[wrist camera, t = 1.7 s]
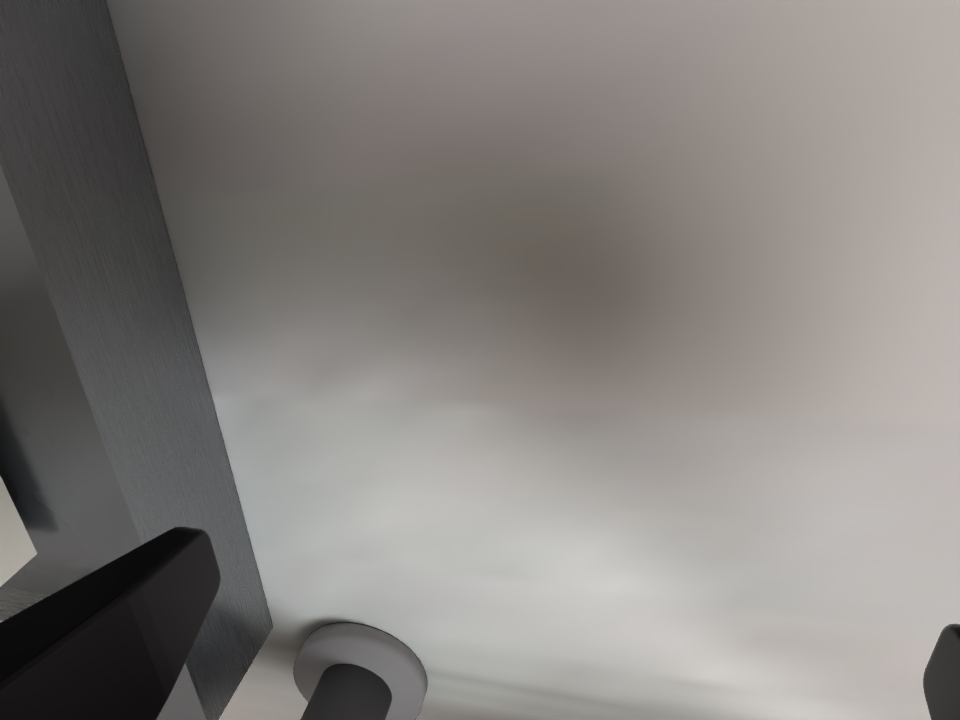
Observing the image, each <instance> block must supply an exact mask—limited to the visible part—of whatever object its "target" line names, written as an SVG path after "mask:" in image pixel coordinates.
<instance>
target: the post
mask: <svg viewBox="0 0 960 720" xmlns="http://www.w3.org/2000/svg"><path fill="white" fill-rule="evenodd" d="M293 675H294V680H295V683H296V685H297V687H298V689H299V691H300V692H301V694H302V695H303V697H304V698H305V699H306V700H307V701H308V702H309V703H308V705H307V708H306V710H305V712H304V714H303V716H302V718H301V720H416V718H417V717H418V715H419V713H420V710H421V707H422V703H423V700H424V697H425V693H426V690H427V676H426V672H425V670H424V667H423V666H422V664H421V662H420V661H419V659H418V658H417V657H416V655H415V654H414V653H413V652H412V651H411V650H410V649H409V648H408V647H406V646H405V645H404V644H403V643H401V642H400V641H399V640H397V639H395V638H394V637H392V636H390V635H388V634H386V633H384V632H382V631H380V630H377V629H375V628H372V627H368V626H365V625H359V624H352V623H336V624H330V625H326V626H323V627H321V628H318V629H317V630H315V631H314V632H313V633H311V634H310V635H309V637H308V638H307V639H306V641H305V643H304V645H303V647H302V649H301V651H300V653H299V655H298V657H297V659H296V661H295V663H294V667H293Z"/></svg>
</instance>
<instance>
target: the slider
mask: <svg viewBox="0 0 960 720" xmlns="http://www.w3.org/2000/svg"><path fill="white" fill-rule="evenodd" d="M36 554H37V552H36V550H35V547H34V545H33V543H32V541H31V539H30V537H29V535H28V533H27V531H26V528H25V526H24V524H23V522H22V520H21V518H20V516H19V514H18V512H17V509H16V507H15V505H14V503H13V501H12V499H11V497H10V495H9V493H8V490H7V488H6V486H5V484H4V482H3V480H2V478H1V476H0V587H1V586H2V585H3V584H4V583H5V582H6V581H7V580H9V579H10V578H11V577H12V576H13V575H14V574H15V573H16V572H17V571H19V570H20V569H21V568H22V567H23V566H24V565H25V564H26V563H28V562H29V561H30V560H31V559H32V558H33V557H34V556H35V555H36Z"/></svg>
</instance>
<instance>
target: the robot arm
mask: <svg viewBox="0 0 960 720" xmlns="http://www.w3.org/2000/svg"><path fill="white" fill-rule="evenodd" d="M220 581H221V573H220V568H219V565H218V562H217V558H216V555H215V552H214V548H213V545H212V542H211V538H210V536H209V534H208V533H207V532H206V531H205V530H203V529H198V528H190V527H182V526H181V527H175V528H172V529H170V530H168V531H166V532H164V533H163V534H161V535H159V536H157V537H155V538H154V539H152V540H150V541H148V542H146V543H144V544H143V545H141V546H139V547H137V548H135V549H133V550H132V551H130V552H128V553H126V554H124V555H122V556H121V557H119V558H117V559H115V560H113V561H112V562H110V563H108V564H106V565H104V566H102V567H101V568H99V569H97V570H95V571H93V572H91V573H90V574H88V575H86V576H84V577H82V578H80V579H79V580H77V581H75V582H73V583H71V584H69V585H68V586H66V587H64V588H62V589H60V590H59V591H57V592H55V593H53V594H51V595H49V596H48V597H46V598H44V599H42V600H40V601H38V602H37V603H35V604H33V605H31V606H29V607H27V608H26V609H24V610H22V611H20V612H18V613H16V614H15V615H13V616H11V617H9V618H7V619H5V620H4V621H2V622H0V720H156V719H157V718H158V716H159V714H160V712H161V710H162V709H163V707H164V705H165V703H166V701H167V700H168V698H169V696H170V694H171V692H172V690H173V688H174V686H175V683H176V681H177V679H178V677H179V675H180V673H181V671H182V669H183V666H184V664H185V662H186V660H187V658H188V656H189V653H190V651H191V649H192V647H193V645H194V643H195V640H196V638H197V636H198V634H199V632H200V629H201V627H202V625H203V623H204V621H205V619H206V616H207V614H208V612H209V610H210V608H211V606H212V603H213V601H214V599H215V597H216V595H217V592H218V590H219V586H220ZM923 686H924V693H925V698H926V701H927V705H928V709H929V713H930V716H931V720H960V624H950V625H948V626H946V627H945V628H944V629H943V630H942V632H941V634H940V637H939V639H938V641H937V643H936V646H935V648H934V650H933V653H932V655H931V657H930V660H929V662H928V664H927V667H926V669H925V672H924V678H923Z"/></svg>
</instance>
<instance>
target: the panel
mask: <svg viewBox="0 0 960 720" xmlns="http://www.w3.org/2000/svg"><path fill="white" fill-rule="evenodd" d="M0 476H1V478H2V480H3V482H4V484H5V486H6V488H7V490H8V493H9V495H10V497H11V499H12V501H13V503H14V505H15V507H16V509H17V512H18V514H19V516H20V518H21V520H22V522H23V524H24V526H25V528H26V531H27V533H28V535H29V537H30V539H31V541H32V543H33V545H34V547H35V550H36V552H37V554H36V555H35V556H34V557H33V558H32V559H31V560H30V561H29V562H28V563H26V564H25V565H24V566H23V567H22V568H21V569H20V570H19V571H17V572H16V573H15V574H14V575H13V576H12V577H11V578H10V579H9V580H7V581H6V582H5V583H4V584H3V585H2V586H1V587H0V622H2V621H4V620H5V619H7V618H9V617H11V616H13V615H15V614H16V613H18V612H20V611H22V610H24V609H26V608H27V607H29V606H31V605H33V604H35V603H37V602H38V601H40V600H42V599H44V598H46V597H48V596H49V595H51V594H53V593H55V592H57V591H59V590H60V589H62V588H64V587H66V586H68V585H69V584H71V583H73V582H75V581H77V580H79V579H80V578H82V577H84V576H86V575H88V574H90V573H91V572H93V571H95V570H97V569H99V568H101V567H102V566H104V565H106V564H108V563H110V562H112V561H113V560H115V559H117V558H119V557H121V556H122V555H124V554H126V553H128V552H130V551H132V550H133V549H135V548H137V547H139V546H141V545H143V544H144V543H146V542H148V541H150V540H152V539H154V538H155V537H157V536H159V535H161V534H163V533H164V532H166V531H168V530H170V529H172V528H175V527H181V526H182V527H190V528H198V529H203V530H205V531H206V532H207V533H208V534H209V536H210V538H211V542H212V545H213V548H214V552H215V555H216V558H217V562H218V565H219V568H220V573H221V581H220V586H219V590H218V592H217V595H216V597H215V599H214V601H213V603H212V606H211V608H210V610H209V612H208V614H207V616H206V619H205V621H204V623H203V625H202V627H201V629H200V632H199V634H198V636H197V638H196V640H195V643H194V645H193V647H192V649H191V651H190V653H189V656H188V658H187V660H186V662H185V664H184V666H183V669H182V671H181V673H180V675H179V677H178V679H177V681H176V683H175V686H174V688H173V690H172V692H171V694H170V696H169V698H168V700H167V701H166V703H165V705H164V707H163V709H162V710H161V712H160V714H159V716H158V718H157V719H156V720H219V718H220V716H221V714H222V713H223V711H224V709H225V708H226V706H227V704H228V703H229V701H230V699H231V697H232V696H233V694H234V692H235V691H236V689H237V687H238V686H239V684H240V682H241V680H242V679H243V677H244V675H245V674H246V672H247V670H248V668H249V667H250V665H251V663H252V662H253V660H254V658H255V657H256V655H257V653H258V651H259V650H260V648H261V646H262V645H263V643H264V641H265V640H266V638H267V636H268V634H269V633H270V631H271V629H272V628H273V626H272V622H271V618H270V614H269V611H268V607H267V603H266V599H265V596H264V592H263V588H262V584H261V581H260V577H259V573H258V569H257V566H256V562H255V558H254V554H253V551H252V547H251V543H250V540H249V536H248V532H247V528H246V525H245V521H244V517H243V513H242V510H241V506H240V502H239V498H238V495H237V491H236V487H235V483H234V480H233V476H232V472H231V468H230V465H229V461H228V457H227V453H226V450H225V446H224V442H223V439H222V435H221V431H220V427H219V424H218V420H217V416H216V412H215V409H214V405H213V401H212V397H211V394H210V390H209V386H208V382H207V379H206V375H205V371H204V367H203V364H202V360H201V356H200V352H199V349H198V345H197V341H196V338H195V334H194V330H193V326H192V323H191V319H190V315H189V311H188V308H187V304H186V300H185V296H184V293H183V289H182V285H181V281H180V278H179V274H178V270H177V266H176V263H175V259H174V255H173V251H172V248H171V244H170V240H169V237H168V233H167V229H166V225H165V222H164V218H163V214H162V210H161V207H160V203H159V199H158V195H157V192H156V188H155V184H154V180H153V177H152V173H151V169H150V165H149V162H148V158H147V154H146V150H145V147H144V143H143V139H142V136H141V132H140V128H139V124H138V121H137V117H136V113H135V109H134V106H133V102H132V98H131V94H130V91H129V87H128V83H127V79H126V76H125V72H124V68H123V64H122V61H121V57H120V53H119V49H118V46H117V42H116V38H115V35H114V31H113V27H112V23H111V20H110V16H109V12H108V8H107V5H106V1H105V0H0Z"/></svg>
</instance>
